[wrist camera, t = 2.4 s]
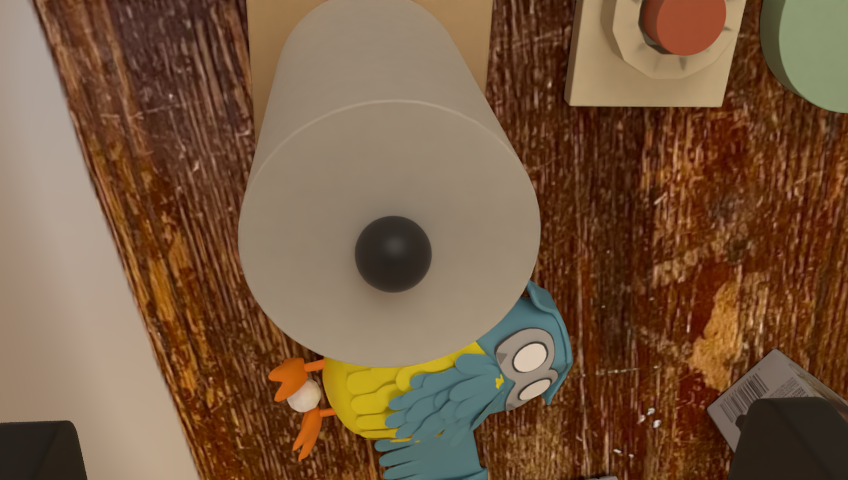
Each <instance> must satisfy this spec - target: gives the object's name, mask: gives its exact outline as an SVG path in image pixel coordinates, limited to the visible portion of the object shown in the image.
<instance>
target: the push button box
mask: <svg viewBox="0 0 848 480" xmlns="http://www.w3.org/2000/svg"><path fill="white" fill-rule="evenodd" d="M646 1H647V0H576V7H575V15H574V23H573V31H572V38H571V46H570V54H569V62H568V70H567V77H566V85H565V93H564V100H565V101H566V102H567V103H568V104H569V105H570V106H637V107H721V106H722V102H723V97H724V93H725V88H726V84H727V80H728V75H729V71H730V66H731V62H732V58H733V53H734V49H735V44H736V40H737V36H738V32H739V29H740V25H741V20H742V16H743V11H744V7H745V3H746V0H724V1H725V4H726V21H725V25H724V27H723V30H722V32H721V33H720V35H719V37H718V38H717V39H716V40H715V42H714V43H713V44H712V45H711V46H709V47H708V48H707V49H705V50H703V51H702V52H699V53H697V54H694V55H689V56H680V55H675V54H673V53H670V52H669V51H667V50H666V49H664V48H663V47H661V46H660V45H658V44H657V43H655V42H654V41H653V40H651V39H650V37H649V36H648V35H647V33H646V31H645V29H644V25H643V10H644V6H645V3H646Z"/></svg>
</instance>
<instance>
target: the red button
mask: <svg viewBox="0 0 848 480" xmlns="http://www.w3.org/2000/svg"><path fill="white" fill-rule="evenodd" d="M725 21H726V4H725V1H724V0H647V1H646V3H645V6H644V10H643V25H644V29H645V31H646V33H647V35H648V36H649V37H650V39H651V40H653V41H654V42H655V43H657V44H658V45H660V46H661V47H663V48H664V49H666V50H667V51H669V52H670V53H673V54H675V55H680V56H689V55H694V54H697V53H699V52H702V51H703V50H705V49H707V48H708V47H709V46H711V45H712V44H713V43H714V42H715V40H716V39H717V38H718V37H719V35H720V33H721V32H722V30H723V27H724V25H725Z"/></svg>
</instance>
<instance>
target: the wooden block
mask: <svg viewBox="0 0 848 480" xmlns="http://www.w3.org/2000/svg"><path fill="white" fill-rule="evenodd" d="M326 1H328V0H246V4H247V20H248V35H249V51H250V66H251V82H252V97H253V112H254V128H255V143H256V148H257V144H258V140H259V136H260V132H261V128H262V124H263V120H264V116H265V112H266V108H267V104H268V100H269V96H270V92H271V88H272V84H273V80H274V76H275V72H276V68H277V64H278V60H279V57H280V54H281V51H282V48H283V46H284V44H285V42H286V40H287V38H288V37H289V35H290V33H291V32H292V30H293V29H294V28H295V26H296V25H297V24H298V23H299V22H300V21H301V19H303V18H304V17H305V16H306V15H307V14H308V13H309V12H310V11H312V10H313V9H315V8H316V7H318V6H319V5H321V4H322V3H324V2H326ZM411 1H413V2H415V3H416V4H418V5H420V6H422V7H423V8H424V9H426V10H427V11H429V12H430V13H431V14H432V15H433V16H434V17H435V18H436V19H438V20H439V21H440V22H441V24H442V25H443V26H444V27H445V29H446V30H447V31H448V33H449V34H450V36H451V38H452V39H453V41H454V43H455V45H456V46H457V48H458V50H459V52H460V54H461V55H462V57H463V59H464V61H465V63H466V64H467V66H468V68H469V70H470V72H471V73H472V75H473V77H474V79H475V81H476V82H477V84H478V86H479V88H480V90H481V91H482V93H483V95H484V97H485V94H486V81H487V69H488V56H489V44H490V31H491V18H492V6H493V0H411Z"/></svg>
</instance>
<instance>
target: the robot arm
mask: <svg viewBox="0 0 848 480" xmlns="http://www.w3.org/2000/svg"><path fill="white" fill-rule="evenodd" d="M0 480H87V475H86V471H85V466H84V461H83V457H82V452H81V448H80V444H79V439H78V435H77V431H76V428H75V426H74V425H73V423H72V422H70V421H38V422H9V423H0ZM727 480H848V423H847V422H846V420H845V419H844V418H843V417H842V416H841V415H840V413H839V412H838V411H837V410H836V409H835V408H834V406H833V405H832V404H831V403H830V402H828V401H827V400H825V399H824V398H821V397H816V396H814V397H785V398H760V399H757V400H755V401H754V402H753V403H752V404H751V405H750V407H749V408H748V411H747V414H746V417H745V420H744V424H743V427H742V430H741V434H740V437H739V440H738V444H737V447H736V450H735V454H734V457H733V460H732V464H731V467H730V470H729V474H728V477H727Z"/></svg>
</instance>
